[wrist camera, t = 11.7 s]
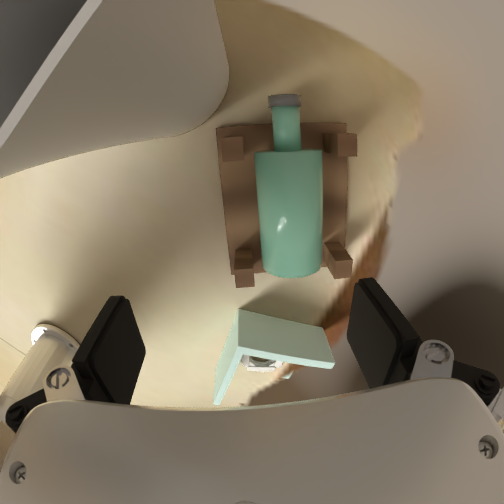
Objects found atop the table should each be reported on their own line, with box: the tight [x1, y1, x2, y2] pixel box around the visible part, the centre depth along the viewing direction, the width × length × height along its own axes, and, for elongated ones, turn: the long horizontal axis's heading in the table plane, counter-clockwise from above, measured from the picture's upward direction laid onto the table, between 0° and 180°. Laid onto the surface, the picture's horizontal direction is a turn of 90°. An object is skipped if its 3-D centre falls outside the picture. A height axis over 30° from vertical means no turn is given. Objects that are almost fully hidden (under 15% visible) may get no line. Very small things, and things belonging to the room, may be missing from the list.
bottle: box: [254, 94, 323, 278], centre depth 25 cm, size 16×6×6 cm, turn 4°
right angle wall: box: [213, 309, 335, 406], centre depth 36 cm, size 12×12×8 cm
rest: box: [216, 123, 357, 288], centre depth 27 cm, size 16×13×6 cm
